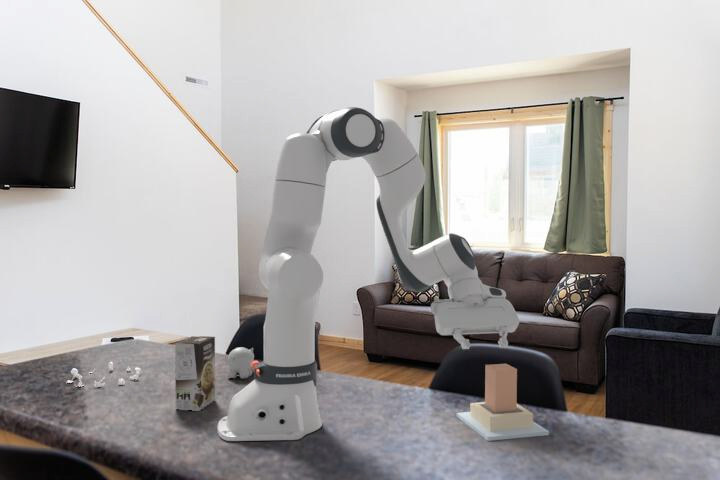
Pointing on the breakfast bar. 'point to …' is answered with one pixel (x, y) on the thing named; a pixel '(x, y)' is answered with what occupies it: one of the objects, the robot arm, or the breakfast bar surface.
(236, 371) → the chubby cartoon animal
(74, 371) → the game piece set
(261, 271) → the robot arm
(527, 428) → the base
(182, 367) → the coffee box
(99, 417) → the breakfast bar surface
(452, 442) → the breakfast bar surface
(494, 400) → the pillar block
